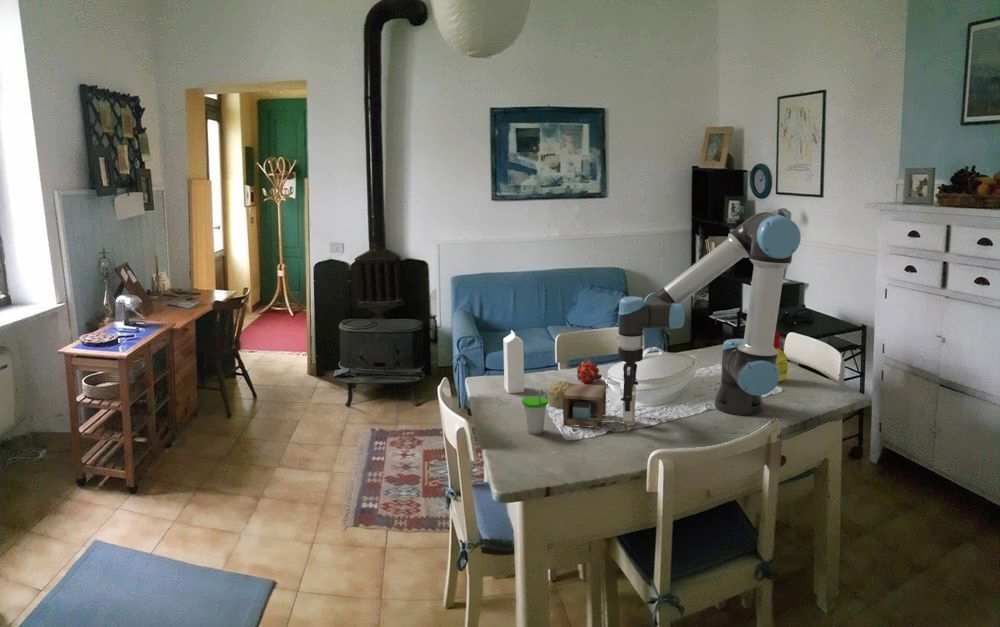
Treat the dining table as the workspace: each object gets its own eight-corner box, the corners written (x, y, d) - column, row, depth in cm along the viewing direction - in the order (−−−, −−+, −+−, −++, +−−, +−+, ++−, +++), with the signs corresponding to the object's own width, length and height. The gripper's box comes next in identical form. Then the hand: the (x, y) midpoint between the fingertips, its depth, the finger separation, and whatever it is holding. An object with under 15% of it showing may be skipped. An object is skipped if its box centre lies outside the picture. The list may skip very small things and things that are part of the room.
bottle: (760, 385, 250) (764, 332, 246) (751, 380, 256) (754, 327, 252) (790, 382, 253) (794, 329, 248) (779, 377, 259) (783, 325, 254)
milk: (520, 386, 256) (519, 328, 251) (524, 392, 250) (523, 332, 245) (504, 388, 254) (503, 330, 249) (507, 393, 249) (506, 334, 244)
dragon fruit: (585, 380, 266) (593, 394, 255) (568, 369, 263) (575, 384, 252) (599, 363, 264) (607, 377, 253) (581, 352, 261) (590, 366, 250)
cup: (522, 427, 219) (521, 381, 215) (547, 426, 218) (547, 381, 215) (522, 437, 211) (521, 390, 208) (548, 436, 211) (548, 389, 207)
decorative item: (562, 419, 234) (580, 397, 231) (539, 401, 234) (557, 379, 231) (565, 409, 243) (582, 388, 240) (543, 392, 243) (560, 371, 240)
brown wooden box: (605, 414, 227) (606, 385, 225) (601, 428, 216) (601, 397, 214) (569, 412, 230) (569, 383, 228) (563, 425, 219) (563, 395, 217)
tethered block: (634, 420, 222) (635, 390, 219) (633, 426, 217) (634, 396, 215) (575, 416, 226) (575, 387, 224) (572, 421, 222) (572, 392, 219)
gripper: (622, 336, 226) (621, 397, 231) (614, 358, 203) (613, 426, 208) (645, 337, 225) (643, 399, 229) (640, 359, 201) (638, 428, 206)
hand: (629, 412), depth 219 cm, fingers open, 13 cm apart
